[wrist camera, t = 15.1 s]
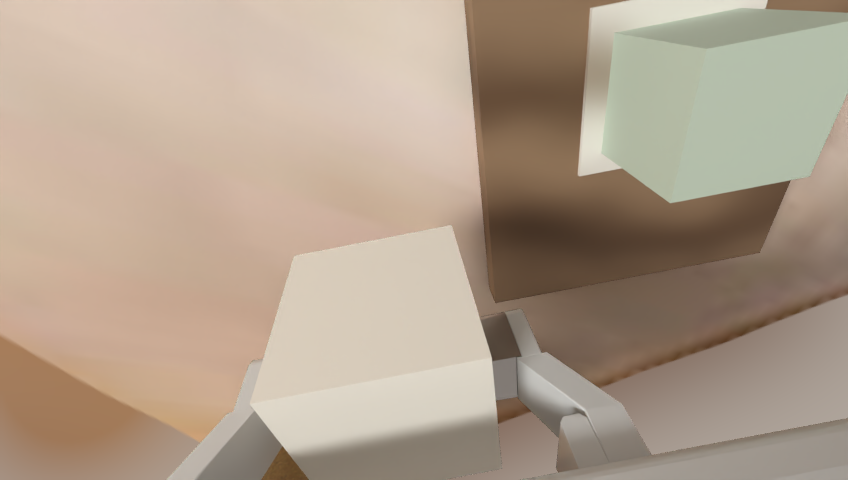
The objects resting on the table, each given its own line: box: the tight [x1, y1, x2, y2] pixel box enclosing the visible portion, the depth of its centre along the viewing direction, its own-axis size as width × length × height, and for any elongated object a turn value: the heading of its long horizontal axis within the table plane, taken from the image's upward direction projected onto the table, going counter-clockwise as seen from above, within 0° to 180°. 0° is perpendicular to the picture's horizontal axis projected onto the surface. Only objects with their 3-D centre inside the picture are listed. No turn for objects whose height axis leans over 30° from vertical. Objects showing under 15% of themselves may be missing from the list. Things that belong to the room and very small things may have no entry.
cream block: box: [250, 225, 502, 480], centre depth 11 cm, size 5×5×5 cm
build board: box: [464, 0, 848, 303], centre depth 17 cm, size 22×16×2 cm
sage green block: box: [601, 8, 848, 203], centre depth 14 cm, size 5×5×5 cm
